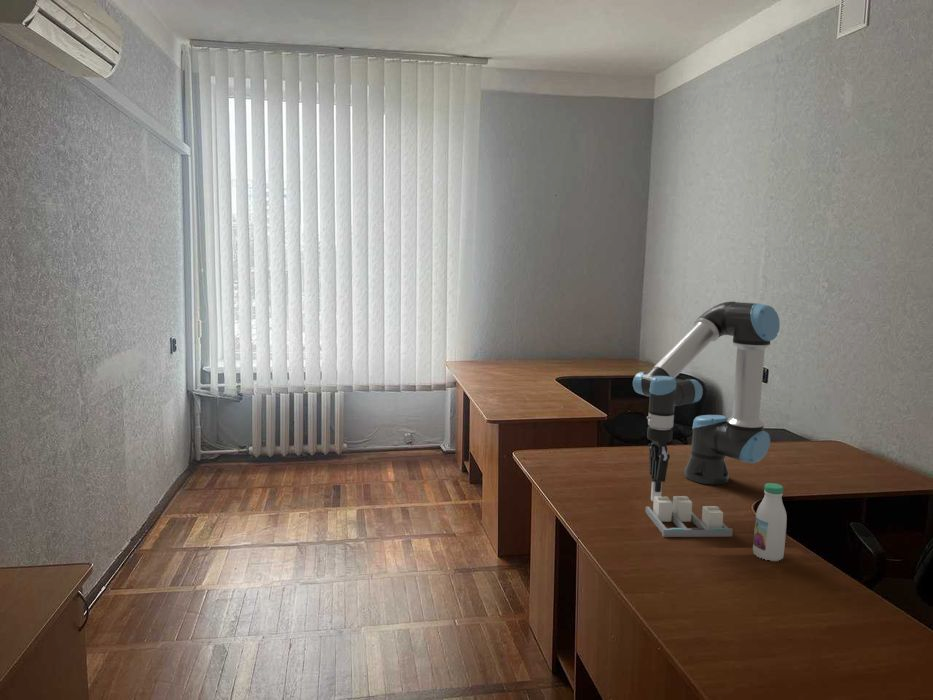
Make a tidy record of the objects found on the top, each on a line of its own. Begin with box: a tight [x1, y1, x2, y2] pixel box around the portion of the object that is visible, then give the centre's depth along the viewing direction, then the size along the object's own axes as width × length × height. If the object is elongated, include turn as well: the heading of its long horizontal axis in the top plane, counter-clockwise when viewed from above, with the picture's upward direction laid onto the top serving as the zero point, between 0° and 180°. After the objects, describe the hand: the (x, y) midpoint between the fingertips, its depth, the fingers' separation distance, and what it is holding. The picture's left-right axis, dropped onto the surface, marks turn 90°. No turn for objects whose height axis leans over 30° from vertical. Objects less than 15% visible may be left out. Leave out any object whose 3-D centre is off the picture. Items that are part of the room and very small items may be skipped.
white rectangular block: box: [701, 505, 724, 528], centre depth 195 cm, size 4×5×7 cm
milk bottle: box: [752, 482, 788, 562], centre depth 181 cm, size 8×8×20 cm
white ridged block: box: [672, 495, 693, 523], centre depth 202 cm, size 4×5×7 cm
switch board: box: [645, 506, 734, 538], centre depth 199 cm, size 20×18×4 cm
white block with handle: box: [652, 495, 673, 523], centre depth 202 cm, size 4×5×7 cm
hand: (655, 500), depth 208 cm, fingers closed
